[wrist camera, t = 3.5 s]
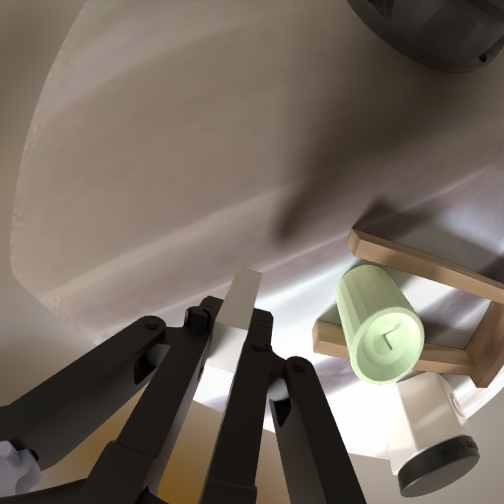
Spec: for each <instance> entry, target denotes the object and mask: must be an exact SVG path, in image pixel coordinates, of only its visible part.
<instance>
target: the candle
mask: <svg viewBox="0 0 504 504" xmlns="http://www.w3.org/2000/svg"><path fill="white" fill-rule="evenodd" d="M335 298H336V303H337V307H338V311H339V315H340V318H341V322H342V326H343V330H344V334H345V339H346V343H347V347H348V351H349V356H350V360H351V365H352V368H353V369H354V371H355V373H356V375H357V376H358V377H359V378H360V379H361V380H363V381H365V382H367V383H369V384H374V385H384V384H389V383H392V382H394V381H397V380H399V379H400V378H402V377H403V376H404V375H406V374H407V373H408V372H409V371H410V370H411V369H412V368H413V367H414V365H415V363H416V362H417V360H418V359H419V357H420V354H421V352H422V349H423V345H424V338H425V337H424V327H423V325H422V322H421V319H420V318H419V316H418V315H417V313H416V312H415V310H414V309H413V307H412V306H411V305H410V303H409V302H408V300H407V299H406V297H405V296H404V295H403V293H402V292H401V290H400V289H399V288H398V286H397V285H396V283H395V282H394V281H393V279H392V278H391V277H390V275H389V274H388V273H387V272H386V271H385V270H384V269H382V268H380V267H379V266H375V265H362V266H358V267H355V268H354V269H352V270H350V271H349V272H347V273H346V274H345V275H344V276H343V277H342V279H341V280H340V282H339V283H338V286H337V289H336V297H335Z"/></svg>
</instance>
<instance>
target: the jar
mask: <svg viewBox="0 0 504 504" xmlns="http://www.w3.org/2000/svg"><path fill="white" fill-rule="evenodd" d="M380 415H381V419H382V424H383V428H384V432H385V437H386V442H387V447H388V451H389V457H390V462H391V467H392V472H393V475H396V476H398V481H399V487H400V493H401V495H402V496H403V497H417V496H421V495H425V494H429V493H431V492H434V491H437V490H439V489H441V488H443V487H445V486H447V485H449V484H451V483H453V482H455V481H456V480H458V479H459V478H461V477H462V476H464V475H465V474H466V473H467V472H469V471H470V470H471V469H472V468H473V467H474V466H475V464H477V462H478V461H479V458H480V456H479V453H478V448H477V446H476V443H475V442H474V441H475V438H474V436H473V433H472V431H471V429H470V426H469V424H468V422H467V419H466V417H465V415H464V413H463V411H462V409H461V407H460V404H459V402H458V400H457V398H456V396H455V394H454V392H453V390H452V388H451V386H450V384H449V383H448V382H447V381H446V380H445V379H444V378H443V377H442V376H441V375H440V374H439V373H436V372H427V371H426V372H424V373H421V374H419V375H416V376H414V377H411V378H409V379H406V380H404V381H401V382H398V383H396V384H395V386H394V387H393V389H392V391H391V392H390V394H389V396H388V397H387V399H386V400H385V402H384V403H383V405H382V407H381V408H380Z"/></svg>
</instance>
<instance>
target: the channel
mask: <svg viewBox="0 0 504 504" xmlns="http://www.w3.org/2000/svg"><path fill="white" fill-rule="evenodd" d="M346 243H347V245H348V247H349V248H350V250H351V252H352V253H353V255H354V256H355V257H358V258H362V259H365V260H368V261H372V262H375V263H378V264H381V265H385V266H388V267H391V268H394V269H398V270H401V271H404V272H407V273H411V274H414V275H417V276H420V277H423V278H426V279H429V280H433V281H436V282H439V283H442V284H445V285H448V286H451V287H454V288H457V289H460V290H463V291H466V292H469V293H472V294H475V295H478V296H481V297H484V298H487V299H490V300H492V301H491V303H490V305H489V307H488V309H487V311H486V313H485V315H484V317H483V319H482V321H481V322H480V324H479V326H478V328H477V330H476V331H475V333H474V335H473V336H472V338H471V340H470V341H469V343H468V345H467V346H466V348H465V350H463V349H457V348H451V347H445V346H439V345H433V344H428V343H424V345H423V349H422V352H421V354H420V357H419V359H418V360H417V362H416V363H415V365H414V367H413V368H412V369H411V370H419V371H427V372H436V373H447V374H458V375H469V376H470V377H471V379H472V381H473V382H474V384H475V386H476V388H487V387H488V386H489V384H490V383H491V382H492V380H493V379H494V378H495V376H496V375H497V374H498V372H499V371H500V369H501V368H502V366H503V365H504V284H503V283H500V282H498V281H496V280H493V279H491V278H488V277H486V276H484V275H481V274H479V273H476V272H474V271H471V270H469V269H466V268H464V267H461V266H458V265H456V264H453V263H451V262H448V261H445V260H443V259H440V258H437V257H435V256H432V255H429V254H426V253H424V252H421V251H418V250H415V249H413V248H410V247H407V246H404V245H401V244H398V243H395V242H392V241H389V240H386V239H383V238H380V237H377V236H374V235H371V234H368V233H365V232H362V231H359V230H356V229H353V228H351V231H350V234H349V237H348V239H347V242H346ZM312 336H313V350H314V352H315V353H320V354H324V355H329V356H334V357H339V358H344V359H349V360H350V356H349V351H348V347H347V343H346V339H345V334H344V330H343V326H342V325H337V324H333V323H329V322H325V321H321V320H316V323H315V325H314V327H313V330H312Z"/></svg>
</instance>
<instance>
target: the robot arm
mask: <svg viewBox="0 0 504 504" xmlns="http://www.w3.org/2000/svg"><path fill="white" fill-rule="evenodd" d="M347 1H348V2H349V4H350V5H351V7H352V8H353V10H354V11H355V12H356V13H357V15H358V16H359V17H360V18H361V19H362V20H363V21H364V22H365V23H366V24H367V25H368V26H369V27H370V28H371V29H372V30H373V31H374V32H375V33H376V34H377V35H378V36H380V37H381V38H382V39H383V40H385V41H386V42H387V43H389V44H390V45H391V46H393V47H394V48H396V49H397V50H398V51H400V52H402V53H403V54H405V55H406V56H408V57H410V58H412V59H414V60H416V61H417V62H420V63H422V64H424V65H426V66H429V67H431V68H434V69H437V70H441V71H445V72H450V73H466V72H470V71H473V70H475V69H478V68H480V67H483V66H485V65H487V64H488V63H490V62H491V61H492V60H493V59H494V58H495V57H496V56H497V54H498V53H499V52H500V50H501V49H502V47H503V46H504V0H347ZM261 275H262V273H260V272H257V271H253V270H249V269H246V268H242V267H239V268H238V271H237V273H236V275H235V277H234V280H233V282H232V284H231V286H230V288H229V291H228V293H227V295H226V297H225V299H224V300H222V299H219V298H216V297H212V296H208V297H206V298H204V299H203V300H202V302H201V303H200V305H199V306H193V307H189V308H188V309H187V310H186V312H185V319H184V325H183V327H178V328H177V327H166V323H165V322H164V320H162V319H161V318H159V317H156V316H151V315H150V316H144V317H141V318H140V319H138V320H137V321H135V322H134V323H132V324H130V325H129V326H127V327H126V328H124V329H123V330H121V331H120V332H118V333H117V334H115V335H114V336H112V337H111V338H109V339H108V340H106V341H105V342H103V343H102V344H100V345H98V346H97V347H95V348H94V349H92V350H91V351H89V352H88V353H86V354H85V355H83V356H82V357H80V358H79V359H78V360H76V361H74V362H73V363H71V364H70V365H68V366H67V367H65V368H64V369H62V370H61V371H59V372H58V373H56V374H55V375H53V376H52V377H50V378H49V379H47V380H46V381H44V382H43V383H41V384H40V385H38V386H37V387H35V388H34V389H32V390H31V391H29V392H28V393H26V394H25V395H23V396H22V397H20V398H19V399H17V400H16V401H14V402H13V403H11V404H10V405H7V406H2V407H0V504H168V503H166V502H164V501H163V500H161V499H160V498H158V497H156V495H157V492H158V488H159V484H160V481H161V478H162V476H163V473H164V471H165V468H166V465H167V463H168V460H169V458H170V455H171V453H172V450H173V448H174V445H175V443H176V440H177V437H178V435H179V432H180V430H181V427H182V425H183V422H184V420H185V417H186V415H187V412H188V410H189V407H190V405H191V402H192V399H193V397H194V394H195V392H196V389H197V387H198V384H199V382H200V379H201V377H202V374H203V371H204V366H205V363H206V365H208V366H211V367H214V368H218V369H221V370H225V371H228V372H232V373H235V374H234V377H233V380H232V384H231V387H230V391H229V395H228V399H227V403H226V406H225V410H224V413H223V417H222V421H221V424H220V428H219V432H218V435H217V439H216V442H215V446H214V450H213V453H212V457H211V460H210V464H209V467H208V470H207V474H206V477H205V481H204V484H203V488H202V491H201V495H200V498H199V501H198V504H255V503H256V497H257V487H256V486H255V477H256V470H257V464H258V457H259V450H260V443H261V435H262V429H263V422H264V414H265V406H266V398H269V403H270V408H271V413H272V418H273V423H274V428H275V432H276V436H277V442H278V447H279V451H280V456H281V460H282V465H283V470H284V474H285V479H286V484H287V489H288V493H289V497H290V502H291V504H367V503H366V501H365V498H364V495H363V492H362V490H361V487H360V484H359V482H358V479H357V476H356V474H355V471H354V469H353V466H352V463H351V461H350V458H349V456H348V453H347V450H346V448H345V445H344V443H343V440H342V437H341V435H340V432H339V430H338V427H337V425H336V422H335V419H334V417H333V414H332V412H331V409H330V407H329V404H328V402H327V399H326V397H325V394H324V392H323V389H322V387H321V384H320V382H319V379H318V377H317V374H316V372H315V369H314V367H313V365H312V363H311V362H309V361H308V360H307V359H305V358H303V357H298V356H292V357H290V358H288V359H287V360H285V359H283V358H281V357H279V356H278V355H276V354H275V353H274V352H273V350H272V346H271V337H272V328H273V319H274V318H273V316H272V314H271V312H268V311H264V310H261V309H257V308H254V304H255V300H256V296H257V292H258V287H259V283H260V279H261ZM150 380H151V381H150ZM149 381H150V382H149ZM148 382H149V384H148V386H147V388H146V389H145V391H144V393H143V394H142V396H141V398H140V400H139V402H138V403H137V405H136V406H135V408H134V410H133V412H132V413H131V415H130V417H129V419H128V420H127V422H126V424H125V426H124V427H123V429H122V431H121V433H120V434H119V437H118V438H117V439H116V440H115V441H110V442H109V443H108V444H107V445H106V447H105V448H104V450H103V451H102V453H101V455H100V457H99V458H98V460H97V462H96V464H95V465H94V467H93V469H92V471H91V473H90V474H89V476H88V478H86V479H81V480H77V481H74V482H71V483H67V484H63V485H60V486H56V487H52V488H48V489H44V490H39V491H35V492H30V493H28V492H29V490H30V489H31V488H32V487H34V486H37V485H39V484H40V479H41V471H43V470H45V469H47V468H49V467H51V466H53V465H55V464H56V463H57V462H59V461H60V460H61V459H63V458H64V457H65V456H66V455H67V454H69V453H70V452H71V451H72V450H73V449H74V448H76V447H77V446H78V445H79V444H80V443H81V442H82V441H84V440H85V439H86V438H87V437H88V436H89V435H90V434H92V432H94V431H95V430H96V429H97V428H98V427H99V426H100V425H102V424H103V423H104V422H105V421H106V420H107V419H108V418H109V417H111V416H112V415H113V414H114V413H115V412H116V411H117V410H118V409H119V408H121V407H122V406H123V405H124V404H125V403H126V402H127V401H128V400H129V399H130V398H131V397H132V396H134V395H135V394H136V393H137V392H138V391H139V390H140V389H141V388H143V387H144V386H145V385H146V384H147V383H148Z"/></svg>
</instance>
